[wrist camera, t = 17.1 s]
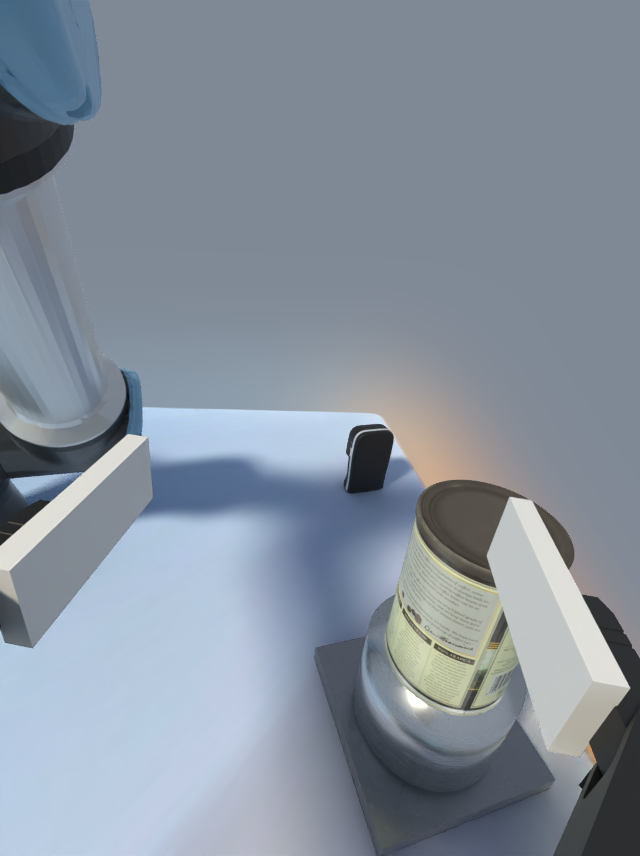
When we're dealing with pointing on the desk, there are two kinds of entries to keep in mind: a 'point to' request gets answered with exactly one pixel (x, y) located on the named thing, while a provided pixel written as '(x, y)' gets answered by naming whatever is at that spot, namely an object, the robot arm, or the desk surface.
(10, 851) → the desk surface
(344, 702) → the door knob
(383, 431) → the battery charger
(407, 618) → the coffee can
